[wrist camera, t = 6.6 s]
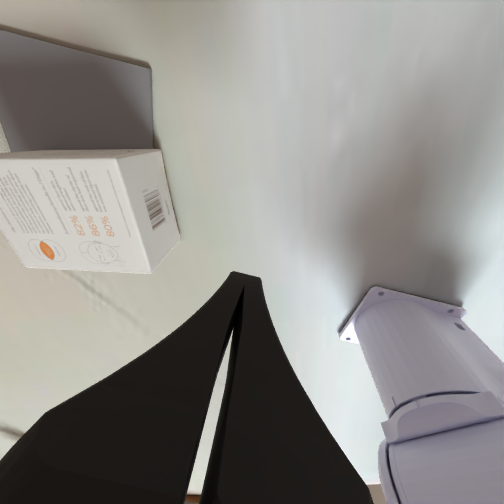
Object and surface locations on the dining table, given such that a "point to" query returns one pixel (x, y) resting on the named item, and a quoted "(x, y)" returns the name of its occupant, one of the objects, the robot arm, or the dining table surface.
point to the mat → (71, 98)
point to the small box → (87, 209)
